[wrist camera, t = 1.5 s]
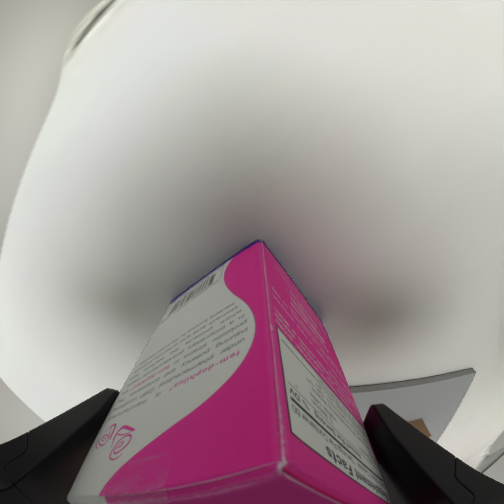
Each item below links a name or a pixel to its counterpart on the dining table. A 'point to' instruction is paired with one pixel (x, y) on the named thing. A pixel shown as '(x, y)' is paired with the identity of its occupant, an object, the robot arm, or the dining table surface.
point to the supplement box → (234, 404)
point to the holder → (419, 400)
